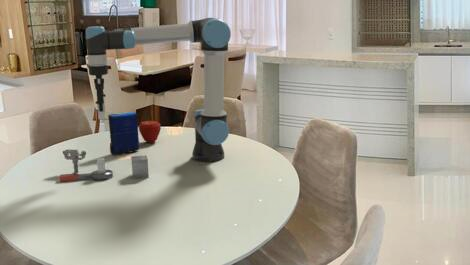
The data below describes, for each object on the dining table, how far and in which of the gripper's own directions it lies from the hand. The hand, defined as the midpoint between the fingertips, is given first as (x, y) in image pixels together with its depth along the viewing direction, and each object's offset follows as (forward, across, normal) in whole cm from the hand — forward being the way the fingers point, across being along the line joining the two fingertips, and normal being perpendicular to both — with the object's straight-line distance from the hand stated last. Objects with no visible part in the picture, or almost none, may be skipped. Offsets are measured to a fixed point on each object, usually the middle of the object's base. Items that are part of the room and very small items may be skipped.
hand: (102, 115), depth 235 cm
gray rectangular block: (+26, +5, +14) cm, 30 cm away
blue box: (+26, -34, +9) cm, 44 cm away
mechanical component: (+26, -8, -13) cm, 31 cm away
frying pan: (+26, +2, -8) cm, 28 cm away
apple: (+26, -50, +23) cm, 61 cm away
